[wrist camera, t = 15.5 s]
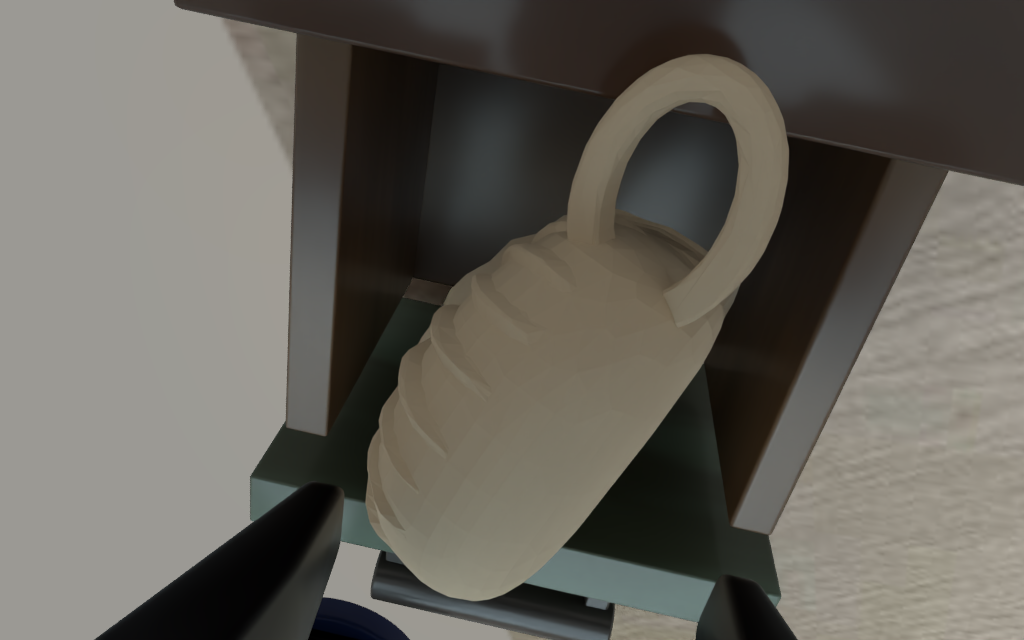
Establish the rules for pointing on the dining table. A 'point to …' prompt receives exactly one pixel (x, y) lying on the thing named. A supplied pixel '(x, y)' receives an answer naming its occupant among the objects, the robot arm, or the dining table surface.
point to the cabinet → (740, 37)
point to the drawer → (525, 211)
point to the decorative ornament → (566, 350)
